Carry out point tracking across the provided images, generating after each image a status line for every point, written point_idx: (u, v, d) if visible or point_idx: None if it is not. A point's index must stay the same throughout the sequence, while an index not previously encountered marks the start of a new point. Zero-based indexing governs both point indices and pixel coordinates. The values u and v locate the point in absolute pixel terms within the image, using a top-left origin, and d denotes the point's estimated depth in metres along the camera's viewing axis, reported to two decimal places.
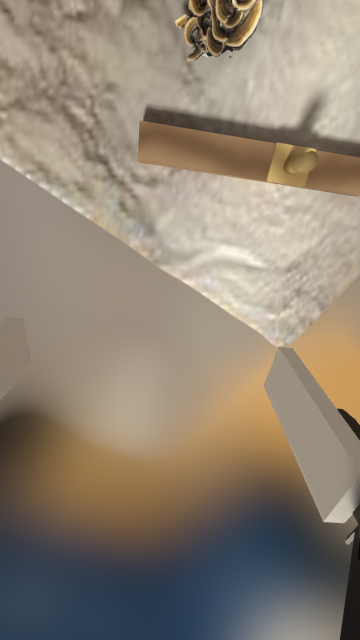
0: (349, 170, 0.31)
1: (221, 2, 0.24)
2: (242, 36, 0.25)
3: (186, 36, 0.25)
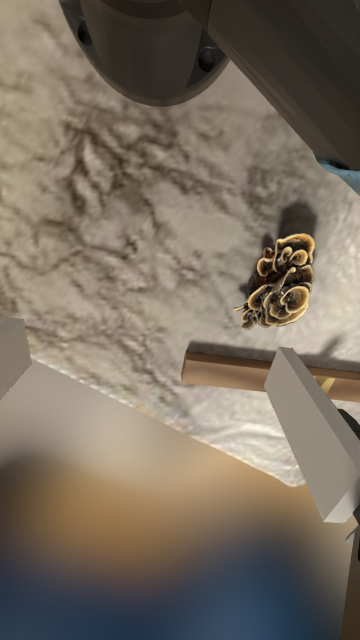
0: None
1: (274, 305, 0.29)
2: (289, 319, 0.30)
3: (242, 317, 0.30)
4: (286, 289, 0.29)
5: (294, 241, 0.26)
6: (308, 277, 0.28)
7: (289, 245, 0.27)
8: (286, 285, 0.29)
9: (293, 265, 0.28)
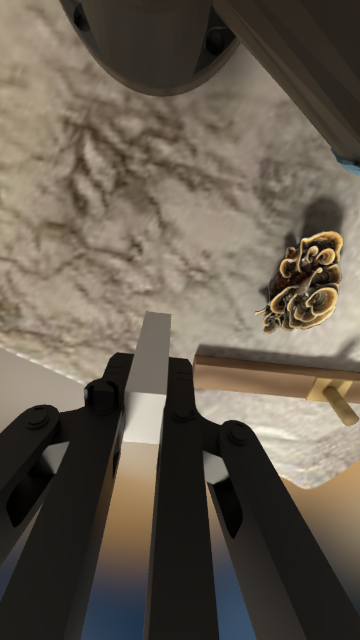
0: None
1: (298, 308, 0.27)
2: (314, 322, 0.28)
3: (264, 321, 0.29)
4: (311, 290, 0.27)
5: (320, 239, 0.24)
6: (335, 277, 0.26)
7: (314, 244, 0.25)
8: (310, 285, 0.27)
9: (318, 265, 0.26)
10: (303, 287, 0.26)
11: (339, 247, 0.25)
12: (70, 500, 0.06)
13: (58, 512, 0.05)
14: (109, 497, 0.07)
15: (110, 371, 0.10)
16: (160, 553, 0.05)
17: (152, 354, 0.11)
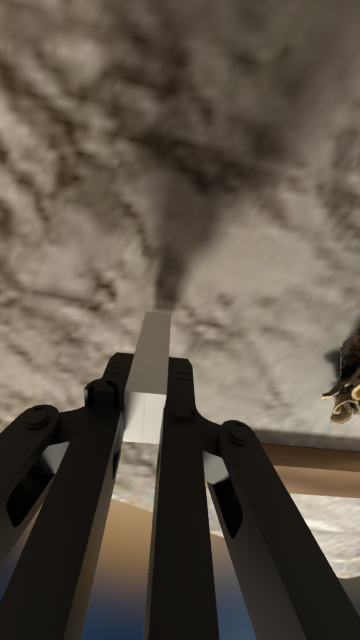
0: None
1: None
2: None
3: (335, 409, 0.18)
4: None
5: None
6: None
7: None
8: None
9: None
10: None
11: None
12: (70, 500, 0.06)
13: (58, 512, 0.05)
14: (109, 497, 0.07)
15: (110, 371, 0.10)
16: (160, 553, 0.05)
17: (152, 354, 0.11)
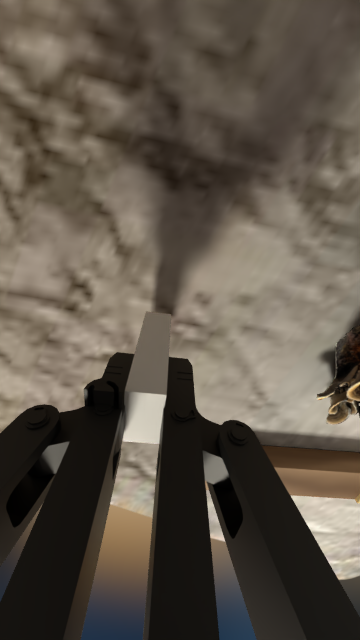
0: None
1: None
2: None
3: (331, 409, 0.17)
4: None
5: None
6: None
7: None
8: None
9: None
10: None
11: None
12: (70, 500, 0.06)
13: (58, 512, 0.05)
14: (109, 497, 0.07)
15: (110, 371, 0.10)
16: (160, 553, 0.05)
17: (152, 354, 0.11)
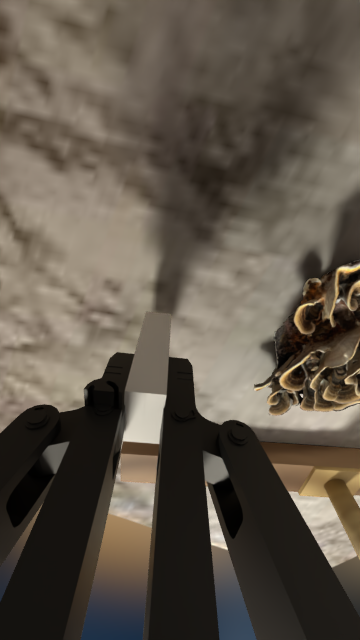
0: None
1: (330, 382, 0.15)
2: None
3: (270, 400, 0.17)
4: None
5: None
6: None
7: (359, 273, 0.13)
8: None
9: None
10: (340, 353, 0.14)
11: None
12: (70, 500, 0.06)
13: (58, 512, 0.05)
14: (109, 497, 0.07)
15: (110, 371, 0.10)
16: (160, 553, 0.05)
17: (152, 354, 0.11)
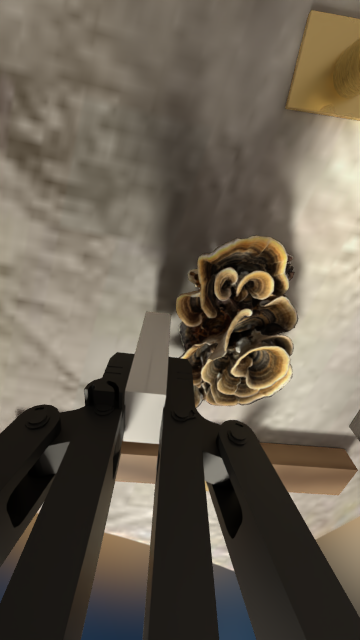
0: (314, 477, 0.22)
1: (225, 376, 0.15)
2: (262, 393, 0.16)
3: None
4: (244, 344, 0.15)
5: (241, 254, 0.12)
6: (285, 317, 0.14)
7: (234, 261, 0.13)
8: (245, 333, 0.15)
9: (252, 297, 0.14)
10: (222, 344, 0.14)
11: (282, 264, 0.13)
12: (70, 500, 0.06)
13: (58, 512, 0.05)
14: (109, 497, 0.07)
15: (110, 371, 0.10)
16: (160, 553, 0.05)
17: (152, 354, 0.11)
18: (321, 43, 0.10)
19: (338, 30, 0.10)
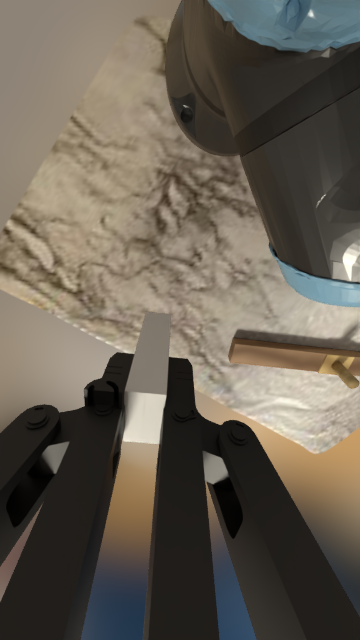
0: None
1: None
2: None
3: None
4: None
5: None
6: None
7: None
8: None
9: None
10: None
11: None
12: (70, 500, 0.06)
13: (58, 512, 0.05)
14: (109, 497, 0.07)
15: (110, 371, 0.10)
16: (160, 553, 0.05)
17: (152, 354, 0.11)
18: None
19: None
